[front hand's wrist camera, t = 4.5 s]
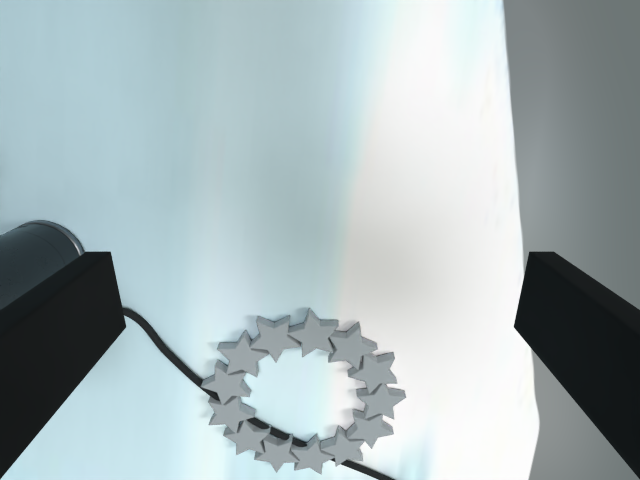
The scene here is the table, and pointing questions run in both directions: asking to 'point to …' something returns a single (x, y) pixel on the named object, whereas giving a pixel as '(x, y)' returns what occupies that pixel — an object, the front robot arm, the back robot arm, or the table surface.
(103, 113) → the table surface
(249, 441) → the decorative wreath
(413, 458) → the table surface
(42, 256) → the back robot arm
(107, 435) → the table surface
